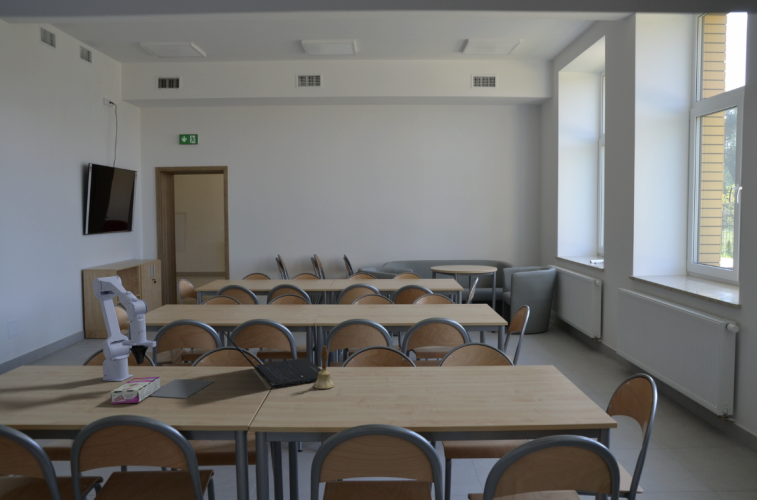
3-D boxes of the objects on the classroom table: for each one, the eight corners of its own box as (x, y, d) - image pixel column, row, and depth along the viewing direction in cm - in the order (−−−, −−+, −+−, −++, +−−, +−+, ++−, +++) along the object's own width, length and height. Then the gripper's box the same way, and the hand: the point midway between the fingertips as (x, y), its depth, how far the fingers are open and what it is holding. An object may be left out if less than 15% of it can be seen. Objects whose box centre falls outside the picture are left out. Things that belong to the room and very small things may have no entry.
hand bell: (338, 386, 213) (339, 346, 212) (322, 390, 207) (323, 349, 206) (324, 381, 218) (325, 342, 218) (308, 385, 212) (309, 345, 212)
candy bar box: (135, 390, 216) (110, 404, 199) (134, 377, 215) (109, 391, 199) (161, 388, 214) (139, 402, 198) (160, 376, 214) (137, 389, 198)
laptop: (331, 380, 220) (329, 334, 219) (238, 396, 205) (235, 346, 203) (306, 360, 251) (305, 319, 249) (224, 373, 235) (221, 329, 233)
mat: (144, 396, 207) (144, 395, 207) (175, 379, 226) (175, 378, 226) (185, 398, 203) (185, 397, 203) (214, 381, 222) (214, 380, 222)
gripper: (115, 332, 215) (118, 365, 216) (147, 333, 212) (149, 367, 213) (128, 328, 222) (130, 360, 223) (158, 329, 219) (160, 362, 220)
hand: (140, 363), depth 219 cm, fingers closed
